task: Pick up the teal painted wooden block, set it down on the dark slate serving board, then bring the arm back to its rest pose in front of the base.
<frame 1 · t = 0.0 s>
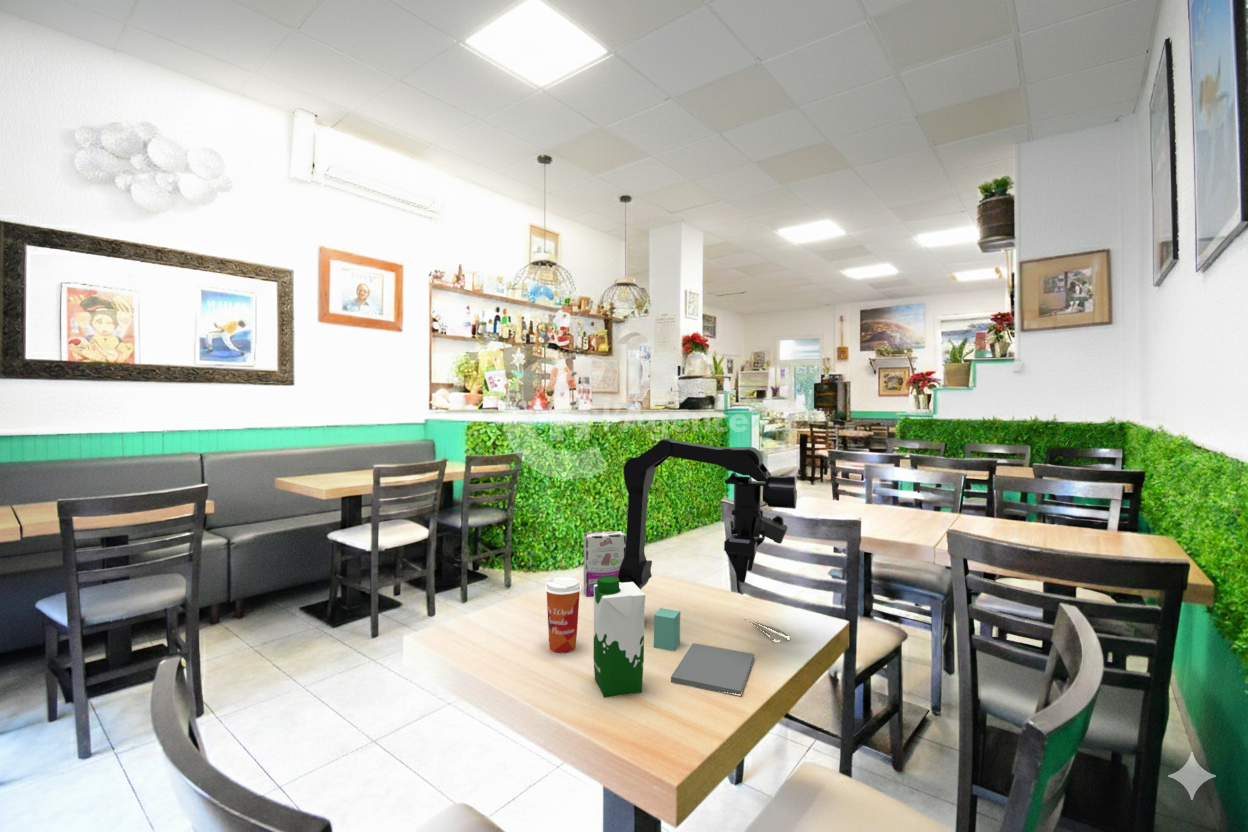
hand: (745, 576, 121), 15 cm above the table, fingers open, 9 cm apart
tweezers: (758, 630, 130), on the table
block: (666, 645, 119), on the table
board: (714, 669, 108), on the table
paper cup: (562, 648, 117), on the table
milk carton: (618, 686, 102), on the table
candy bar box: (604, 593, 152), on the table
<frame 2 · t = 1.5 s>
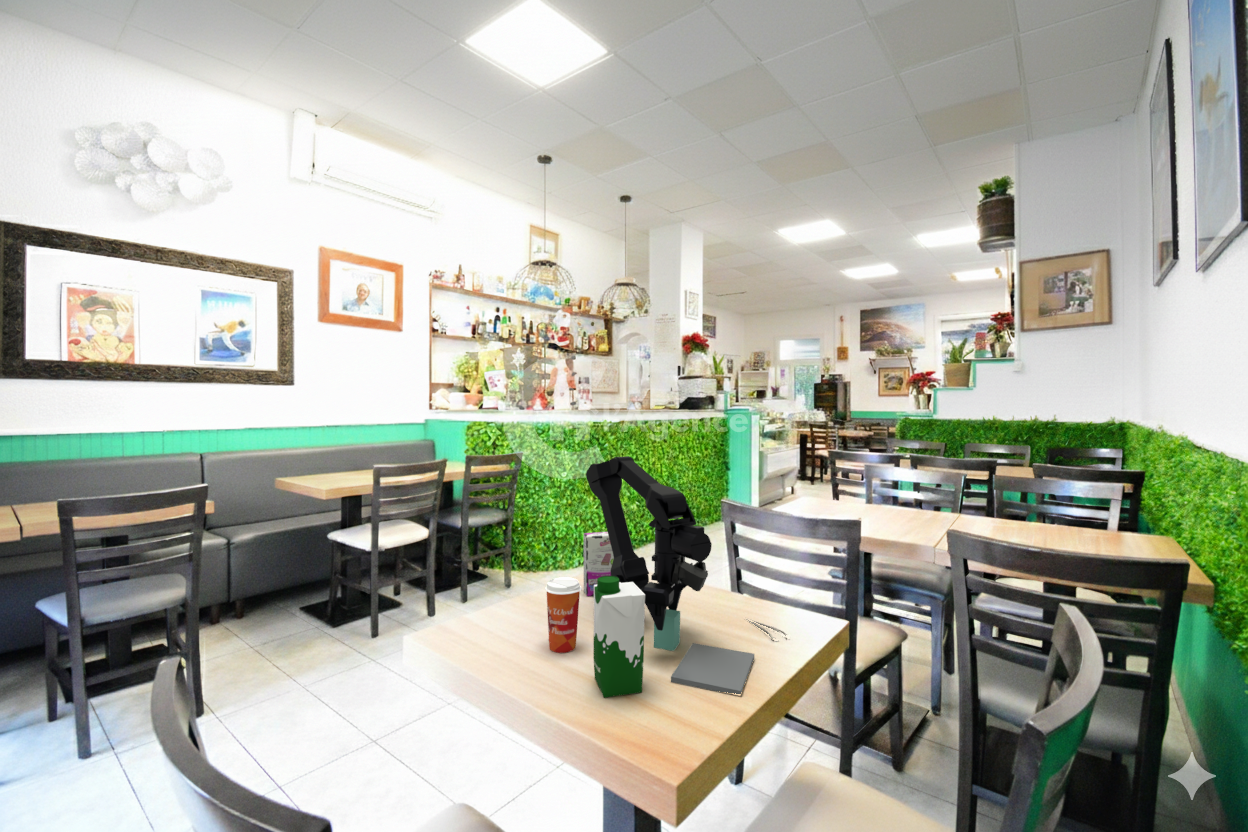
hand: (666, 622, 119), 5 cm above the table, fingers open, 9 cm apart
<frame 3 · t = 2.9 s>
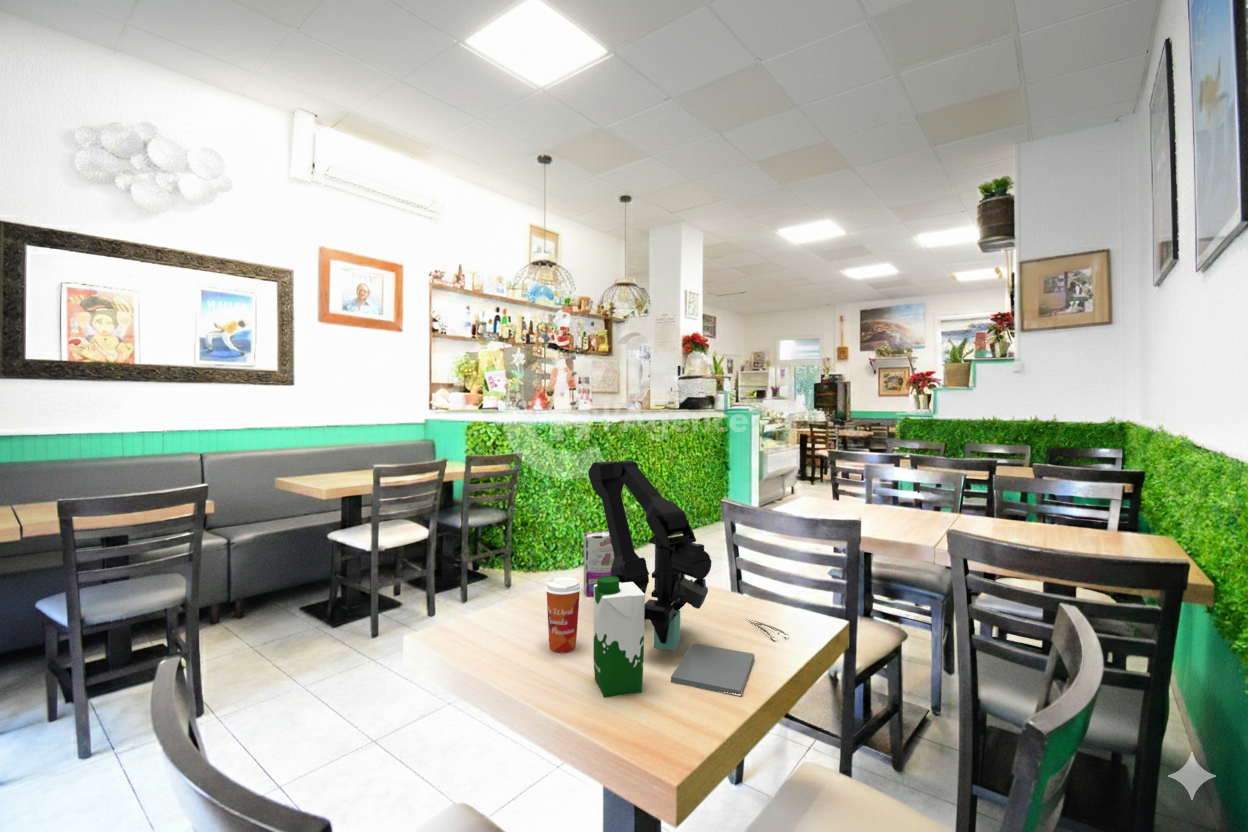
hand: (666, 638, 119), 1 cm above the table, fingers closed on block, 4 cm apart
block: (666, 644, 119), on the table, touching gripper
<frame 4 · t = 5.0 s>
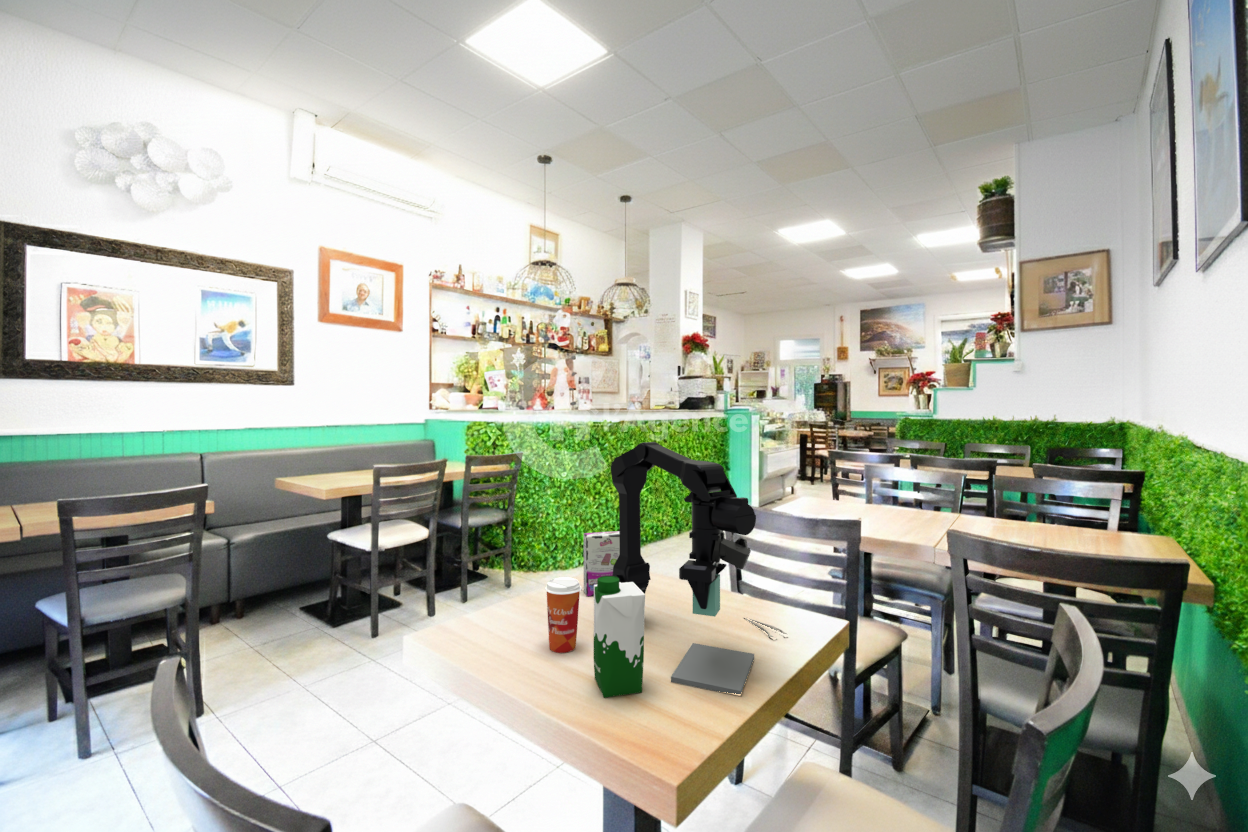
hand: (706, 604, 110), 12 cm above the table, fingers closed on block, 4 cm apart
block: (706, 611, 110), point 11 cm above the table, touching gripper
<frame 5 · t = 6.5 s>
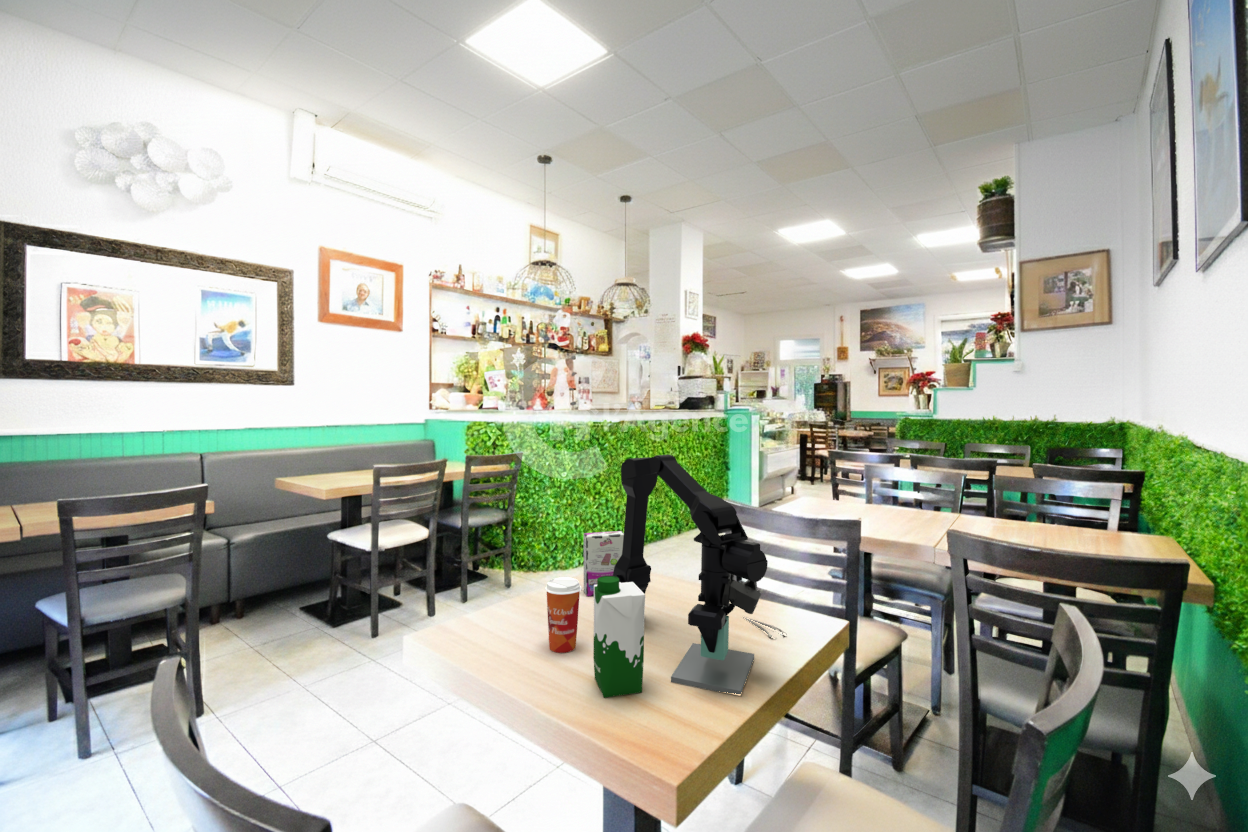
hand: (714, 647, 108), 4 cm above the table, fingers closed on block, 4 cm apart
block: (714, 653, 108), point 3 cm above the table, touching gripper
when the fingers open (4 cm above the table, at t = 7.4 s): block drops 1 cm, resting on board.
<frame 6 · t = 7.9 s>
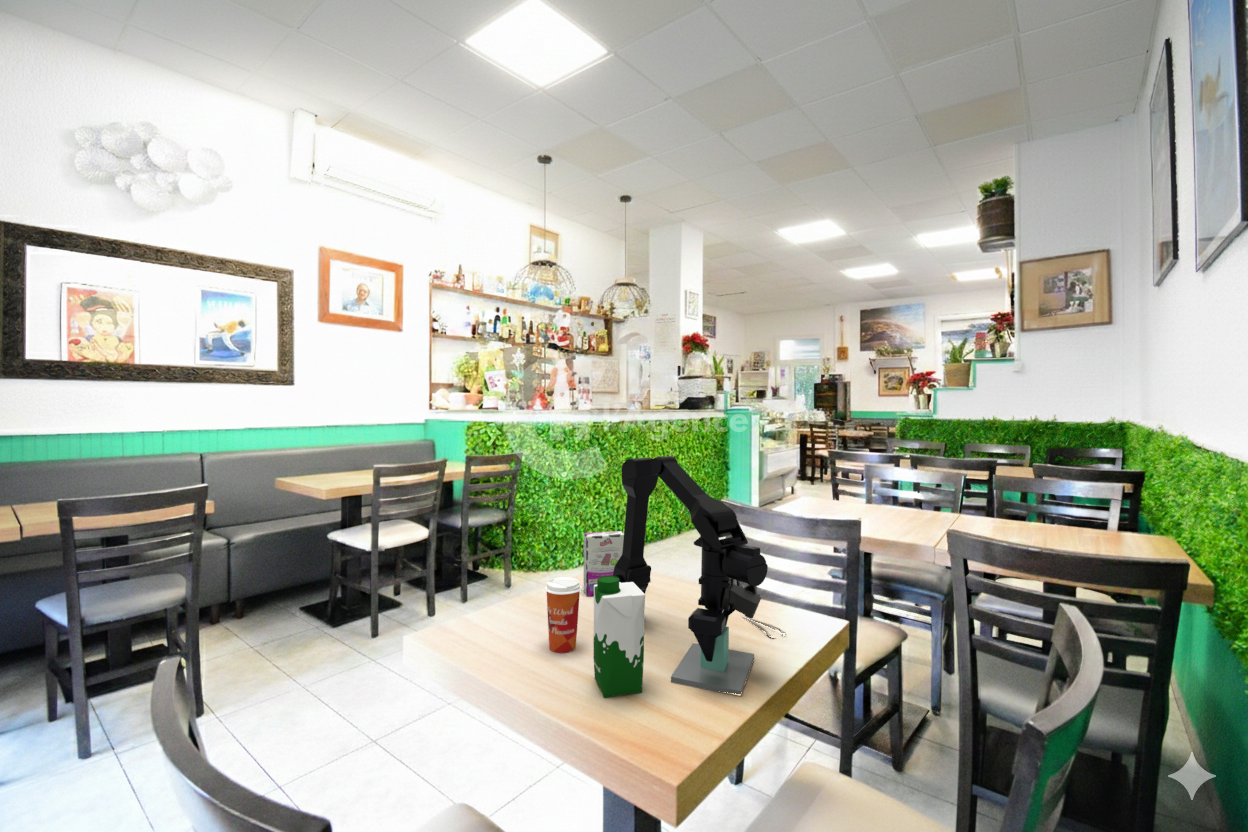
hand: (714, 651, 108), 4 cm above the table, fingers open, 9 cm apart
block: (714, 664, 108), point 1 cm above the table, touching board
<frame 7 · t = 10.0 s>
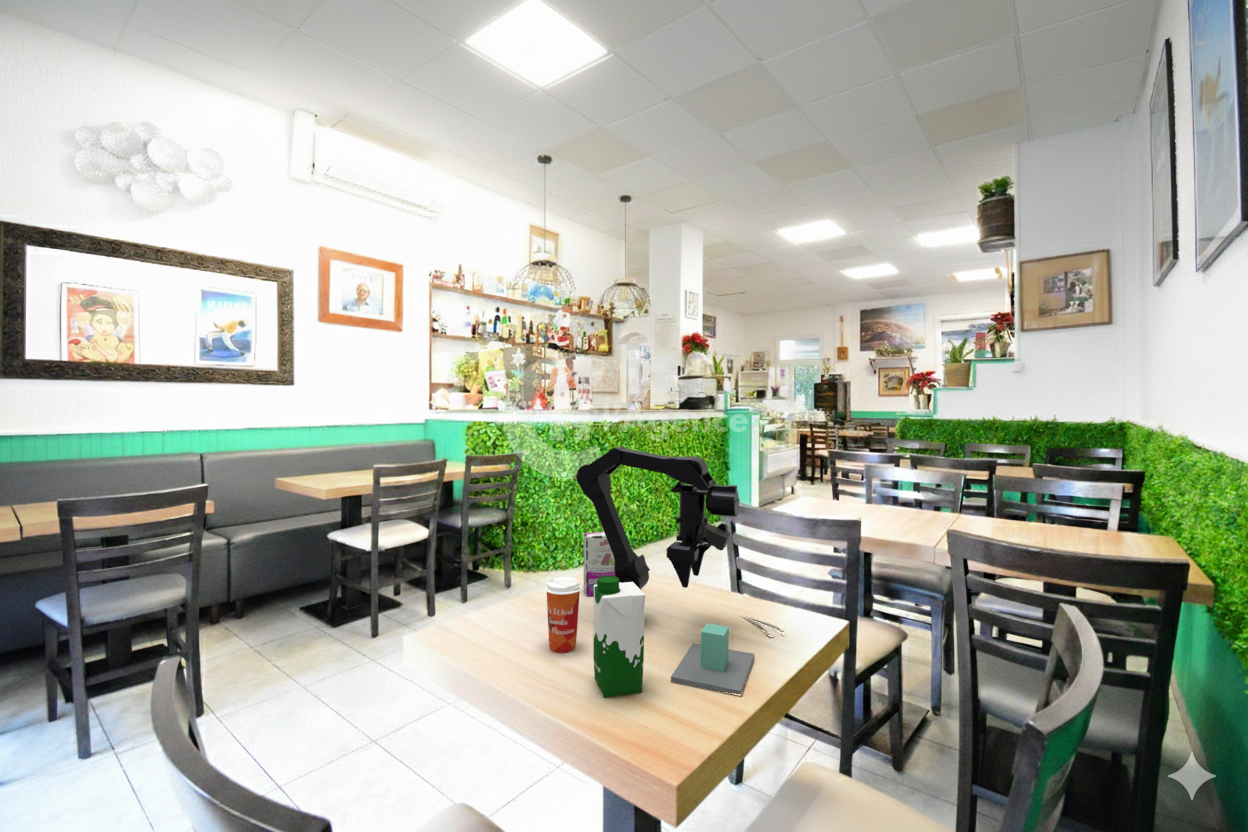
hand: (690, 581, 125), 12 cm above the table, fingers open, 9 cm apart
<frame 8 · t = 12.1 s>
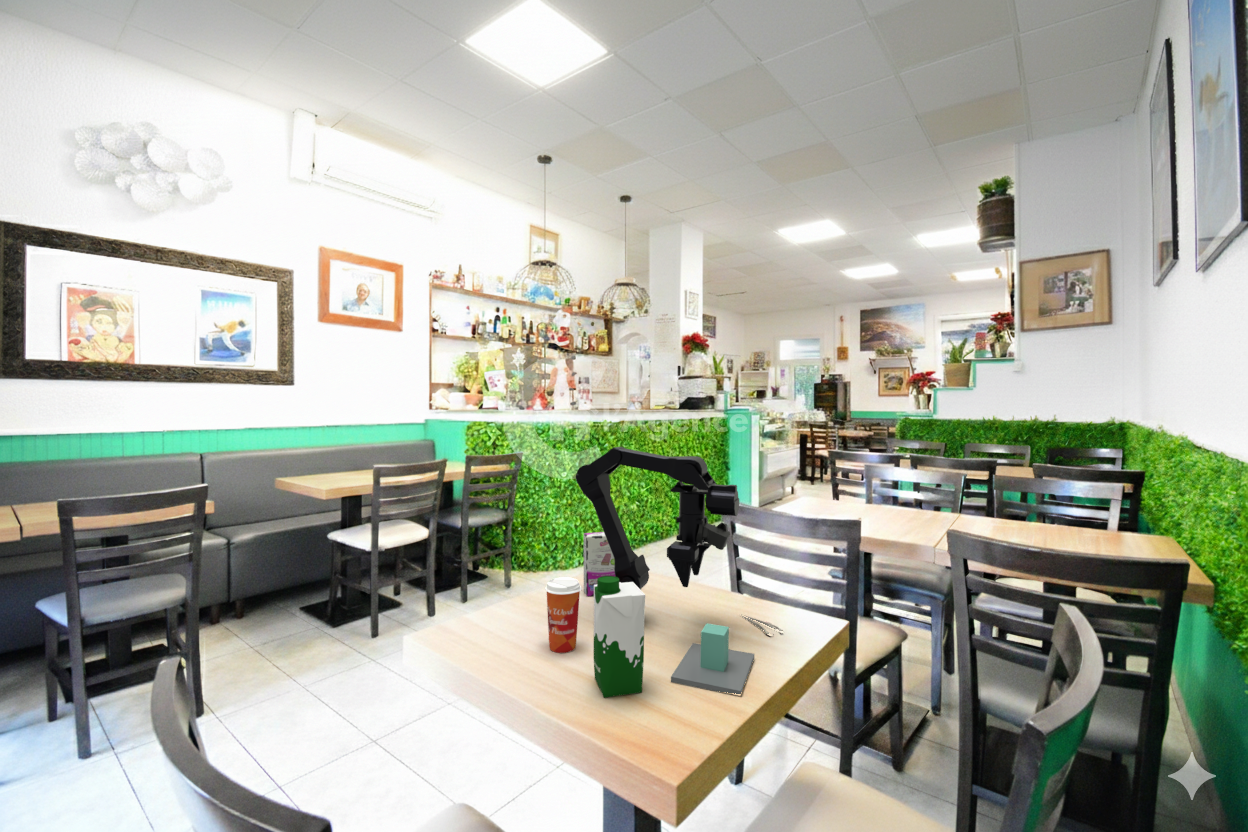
hand: (690, 580, 125), 12 cm above the table, fingers open, 9 cm apart
at the end: block inside the target area on the board (0.0 cm from its centre), point 1.0 cm above the board's base; block tilted 0°; milk carton moved 0.2 cm from its start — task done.
